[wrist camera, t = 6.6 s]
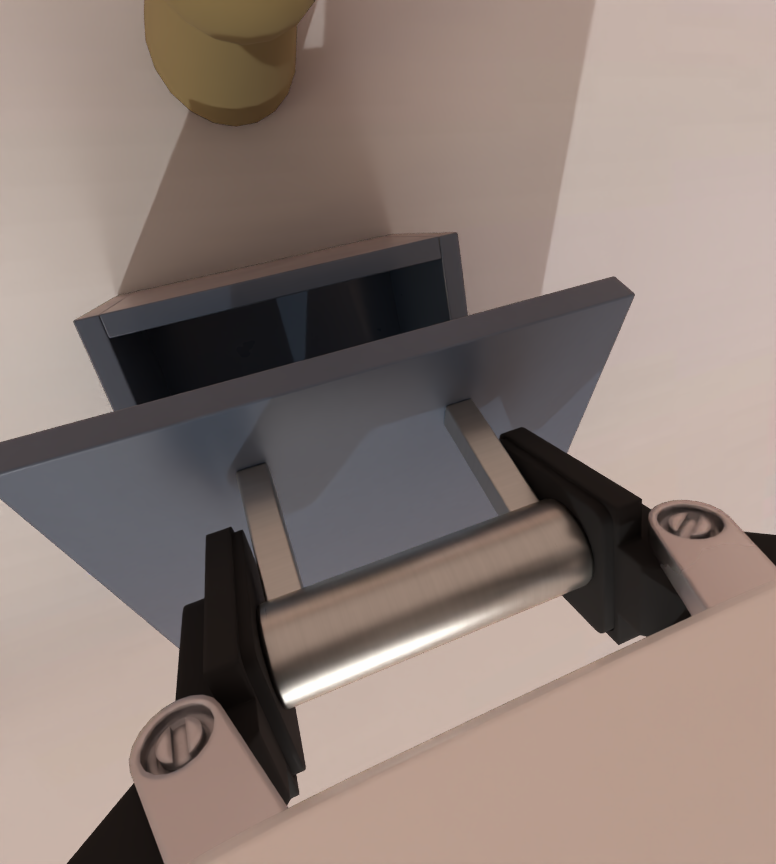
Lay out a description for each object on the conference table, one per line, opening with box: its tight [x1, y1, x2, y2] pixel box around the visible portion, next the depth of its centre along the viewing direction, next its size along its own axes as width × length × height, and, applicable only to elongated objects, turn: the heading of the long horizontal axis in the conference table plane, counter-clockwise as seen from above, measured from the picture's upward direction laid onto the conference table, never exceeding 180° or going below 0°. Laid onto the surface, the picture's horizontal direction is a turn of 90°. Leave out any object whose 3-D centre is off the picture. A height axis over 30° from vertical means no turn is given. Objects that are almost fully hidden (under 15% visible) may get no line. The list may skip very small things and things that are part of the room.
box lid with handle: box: [0, 277, 635, 709], centre depth 16 cm, size 17×14×6 cm
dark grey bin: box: [73, 232, 468, 411], centre depth 24 cm, size 17×14×8 cm
